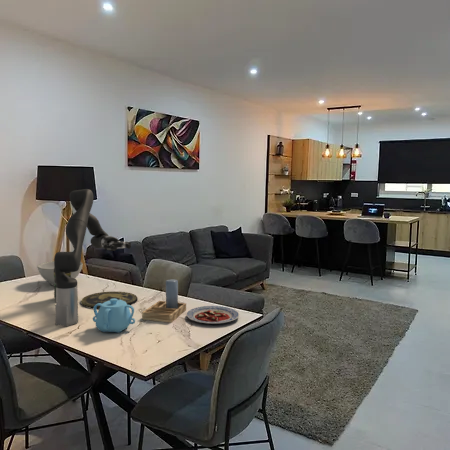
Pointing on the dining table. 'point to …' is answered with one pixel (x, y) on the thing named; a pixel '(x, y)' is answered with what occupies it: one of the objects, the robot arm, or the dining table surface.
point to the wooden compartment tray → (163, 312)
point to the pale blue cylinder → (172, 294)
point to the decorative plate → (108, 298)
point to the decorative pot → (113, 316)
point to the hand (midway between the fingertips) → (121, 247)
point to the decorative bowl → (48, 271)
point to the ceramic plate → (212, 314)
